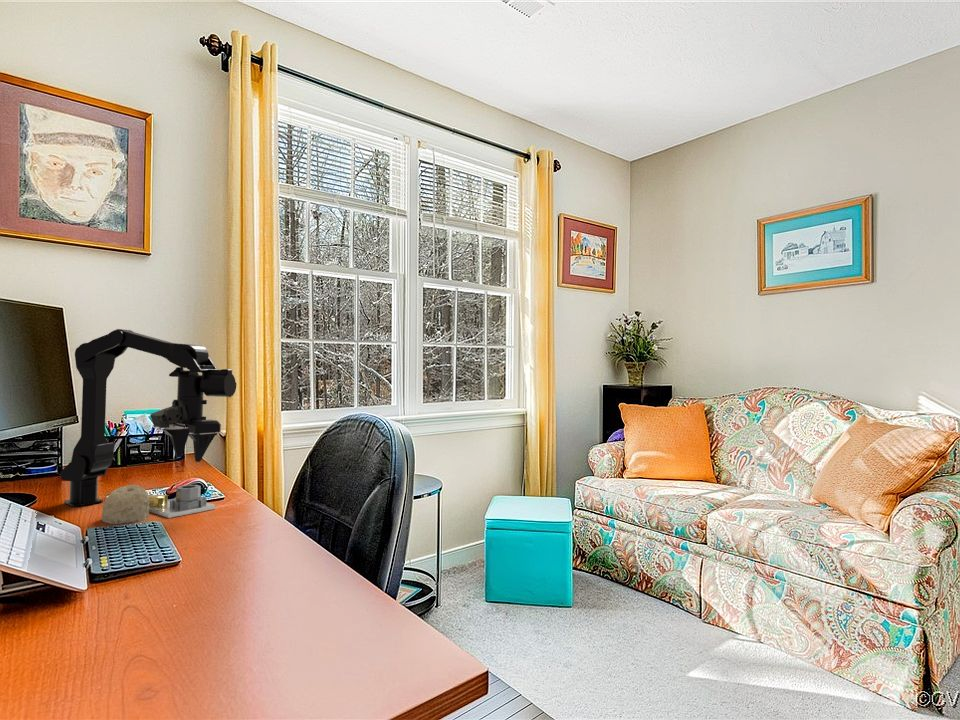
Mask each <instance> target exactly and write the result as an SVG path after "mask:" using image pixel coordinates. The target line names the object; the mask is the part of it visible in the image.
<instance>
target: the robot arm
mask: <svg viewBox="0 0 960 720" xmlns="http://www.w3.org/2000/svg"><path fill="white" fill-rule="evenodd" d="M129 348H130V349H134V350H137V351H141V352H144V353H148V354H152V355H155V356H158V357H162V358H164V359H166V360H167V361H168V362H170V363H172V365H175V366H177V367H175V369H174V370H173V371H172V372H169V373H168V377H173V378H177V391H176V392H177V393H176V394H177V395H176V397H177V399H173V400H172V403H171V404H172V405H171V406H168V407H166V408H163V409H159V410H158V411H154V412H152V413H150V415H149V416H150V419H151V421H152V424H153V427H154V428H159V429H161V431H162V432H164V433H166V434H167V435H168V436H169V438H170V440H171V444H172V447H173V451H174V454H175V457H176V458H181V457H182V456H183V454H184V450H185V448H186V444H187V441H188V437H189V438H190V439H191V440H192V441H193V442H192V444H193V457H194V461H195V462H196V463H200V462H202V461H201V460H202V459H203V458H204V455H205V453H207V449H208V448H209V447H210V445H211V443H212V441H213V440H214V438H215V436H217V435H218V433H221V432H222V430H221V426H222V424H221V423H220V422H219V421H218V420H216V419H207V416H205V415H204V414H203V411H204V405H207V403H208V402H207V401H208V400H206V399H204V395H205V396H206V397H218V398H219V397H221V398H232V397H233V396H234V394H235V393H236V390H237V382H236V378H235V376H234V374H233V369H231V368H230V369H229V368H224V369H223V368H222V369H217V367H216V365H215V363H214V362H213V361H212V360H211V357H210V355H209V351H208V350H207V348H206V347H205V346H203V345H199V344H187V343H175V342H171V341H167V340H163V339H161V338H160V339H159V338H156V337H153V336H149V335H146V334H143V333H139V332H138V333H137V332H135V331H133V330H131V329H121V328H116V329H115V330H112V331H110V332H109V333H107V334H105V335H102V336H100V337H99V336H98V337H97V338H94V339H92V340H90V341H89V342H84V343H81V344H80V345H79V346H78V347H76V348H75V351H74V359H75V366H76V367H75V368H76V370H77V371H78V373H79V375H80V376H81V378H82V393H81V394H82V395H81V396H82V399H81V400H82V401H81V426H80V427H81V428H80V438H79V440H78V441H77V443H76V444H75V446H74V448H73V450H72V455H71V459H70V462H69V463H68V464H67V465H66V466H65V467H64V468H63V469H62V470H61V471H60V472H59V475H60V479H61V481H62V482H69V500H68V499H67V500H63V504H65V505H68V506H71V507H80V506H86V505H87V506H88V505H93V504H94V505H95V504H99V503H103V502H104V500H103V499H101V498H98V492H99V491H98V485H99V483H98V482H99V481H98V480H99V477H101V476H102V477H103V476H106V474H107V471H108V468H109V467H110V466H112V462H113V460H114V459H115V458H116V456H115V453H114V452H115V442H109V441H108V438H107V437H106V414H107V413H106V411H107V405H106V403H107V382H108V381H107V379H108V377H109V376H110V374H111V373H112V371H113V369H114V368H115V367H114V366H115V362H116V361H115V360H116V359H117V358H118V357H120V356H121V355H124V353H125V352H126V351H127V349H129ZM185 369H187V370H185ZM199 373H201V374H199ZM203 415H204V416H203Z"/></svg>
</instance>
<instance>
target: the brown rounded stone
mask: <svg viewBox="0 0 960 720" xmlns="http://www.w3.org/2000/svg"><path fill="white" fill-rule="evenodd" d="M148 496H149V492H148V491H146V489H145V487H142V486H140V485H137V484H128V485H125V486H121V487H117V488H115V490H112V491H111V492H110V494H108V495H107V497H106V498H105V501H104V503H103V504H102V511H101V512H102V513H101V521H102V522H103V523H105V524H109V525H110V524H111V525H113V524H115V525H118V524H119V525H120V524H129V523H137V522H141V521H142V522H143V521H145V520H146V519H148V518H149V517H150V512H149V497H148Z"/></svg>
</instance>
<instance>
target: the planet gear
mask: <svg viewBox="0 0 960 720" xmlns="http://www.w3.org/2000/svg"><path fill="white" fill-rule="evenodd" d="M201 490H202V489H201V485H199V484H183V485H179V486H177V487H176V493H175V494H176V495H175V497H173V498H172V499H169V500H170V508H175V509H177V510H178V509H192V508H196V507H203V506H204V504H206V502H207V497H206V496H202V495H201V492H202V491H201Z"/></svg>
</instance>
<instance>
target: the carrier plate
mask: <svg viewBox="0 0 960 720" xmlns="http://www.w3.org/2000/svg"><path fill="white" fill-rule="evenodd" d="M148 497H149V513H153V514H156V515H158V516H161V517H164V518H167V519H172V518H177V517H181V516H187V515H191V514H196V513H201V512H205V511H207V512H208V511H211V510H215V509H216V505H215V504H213V503H210V502H207V501H206V504H204V506H203V507H196V508H192V509H178V510H177V509H175V508H170V500H171V499H169V498H168V497H169V495H168V494H148Z"/></svg>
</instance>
